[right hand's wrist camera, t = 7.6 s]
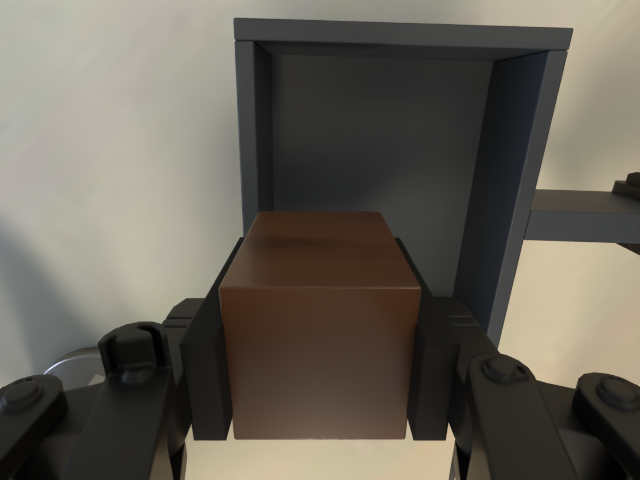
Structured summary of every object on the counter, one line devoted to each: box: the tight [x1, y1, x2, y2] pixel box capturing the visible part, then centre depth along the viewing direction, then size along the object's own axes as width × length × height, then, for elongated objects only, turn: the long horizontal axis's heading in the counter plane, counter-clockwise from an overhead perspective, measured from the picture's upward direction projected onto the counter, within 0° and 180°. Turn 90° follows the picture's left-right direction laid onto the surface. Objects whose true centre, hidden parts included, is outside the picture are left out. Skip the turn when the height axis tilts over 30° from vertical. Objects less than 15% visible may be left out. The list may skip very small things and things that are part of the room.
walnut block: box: [219, 211, 421, 440], centre depth 12 cm, size 4×4×6 cm
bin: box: [234, 18, 640, 350], centre depth 21 cm, size 17×24×6 cm
